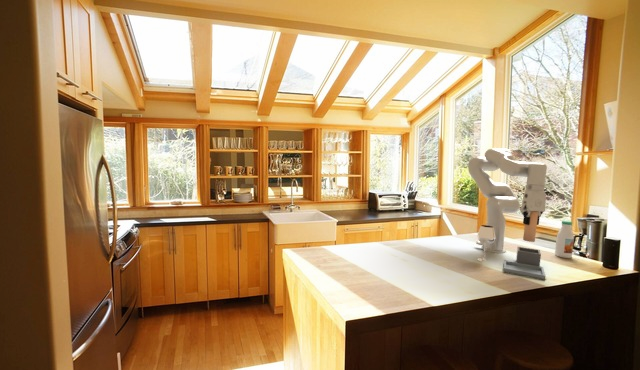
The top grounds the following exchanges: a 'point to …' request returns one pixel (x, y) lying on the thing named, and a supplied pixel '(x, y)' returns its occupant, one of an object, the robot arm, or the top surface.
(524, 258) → the grey open box
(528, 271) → the tray
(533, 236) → the tan tall block
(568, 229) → the milk bottle
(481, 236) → the wineglass
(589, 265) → the top surface
